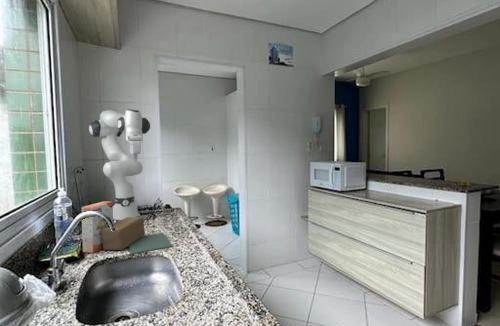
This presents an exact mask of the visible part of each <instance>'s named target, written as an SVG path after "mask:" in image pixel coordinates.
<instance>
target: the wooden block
mask: <svg viewBox="0 0 500 326" xmlns="http://www.w3.org/2000/svg"><path fill="white" fill-rule="evenodd" d="M144 223H145V222H144V217H142V216H137V217H127V218H125V219H122V220H117V221H116V222H113V225H114V227H115V231H114V232H112V231H111V229H110V228H109V227H106V228H104V229H102V231H101V234H102V243H103V248H102V249H103V250H104V251H122V250H124V249H126V248H127V247H129V245H130V244H132V243H133V242H135V241H136V240H138V239H139V238H141V237H142V236H145V225H144Z"/></svg>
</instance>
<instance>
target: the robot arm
mask: <svg viewBox="0 0 500 326" xmlns="http://www.w3.org/2000/svg"><path fill="white" fill-rule="evenodd" d="M150 129H151V122H150V121H149V120H148V119H147V117H142V113H141V111H140V110H137V109H126V110H125V113H124V114H123V113H122V112H121V113H120V112H119V111H115V110H111V109H107V110H102V112H101V113H100V114H99V119H98V120H97V119H95V120H94V121H91V122H90V123H89V124H88V130H89V131H88V132H89V133H90V135H91V136H92V137H94V138H99V137H101V141H100V142H101V147H102V149H103V151H104V153H105V155H106V157H107V159H108V160H109V161H108V162H105V163H104V164H103V167H102V171H103V174H104V176H106V177H107V178H108V179H110V181H111V182H112V184H113V185H114V192H115V198H114V203H115V204H113V220H116V221H120V220H122V219H125V218H127V217H141V213H139V212H138V204H137V203H136V202H135V196H134V185H133V184H132V182H129V181H127V179H126V177H134V176H137V175H138V176H139V175H141V174H142V172H143V167H144V166H143V164H142V163H141V161H140V160H138V155H140V154H141V151H142V150H141V149H142V142H143V135H146V134H147V133H149V131H150ZM123 133H124V134H125V141H126V142H128V144H129V154H131V155H132V157H131V156H130V155H128V154H127V153H126V152H125V150H124V149H123V146H122V145H121V143H120V142H119V141H118V139H117V137H118V138H119V137H121V135H122V134H123Z"/></svg>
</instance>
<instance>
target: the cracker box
mask: <svg viewBox="0 0 500 326" xmlns="http://www.w3.org/2000/svg"><path fill="white" fill-rule="evenodd" d="M113 206H114V202H113V201H111V200H110V201H109V200H108V201H107V200H106V201H100V202H97V203H93V204H92V203H91V204H89V205H84V206H81V214H82V213H83V212H86V211H100V212H102V213H104V214H105V215H107V216H108V217H109V218H110V219H111V221H112V223H113V224H114V219H113ZM106 227H108V225H107V224H106V222H105V221H104V220H103V219H101V218H98V217H89V218H85V219H83V220H82V219H81V229H82V230H81V231H82V232H81V233H82V235H81V236H82V253H85V254H86V253H90V254H94V253H96V252H98V251H100V250H102V249H103V243H102V234H101V231H102V229H104V228H106Z"/></svg>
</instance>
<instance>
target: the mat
mask: <svg viewBox="0 0 500 326" xmlns="http://www.w3.org/2000/svg"><path fill="white" fill-rule="evenodd" d="M167 248H173V245H172V243H171V242H170V240H169V239H168V238H167V236H166V235H165V234H164V232H161V233H154V234H147V235H143V236H142V237H141V238H139V239H138V240H136V241H135V242H133V243H132V244H130V245H129V246H128V250H129V253H130V255H135V254H136V255H137V254H141V253H146V252H151V251H156V250H157V251H158V250H163V249H167Z"/></svg>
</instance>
